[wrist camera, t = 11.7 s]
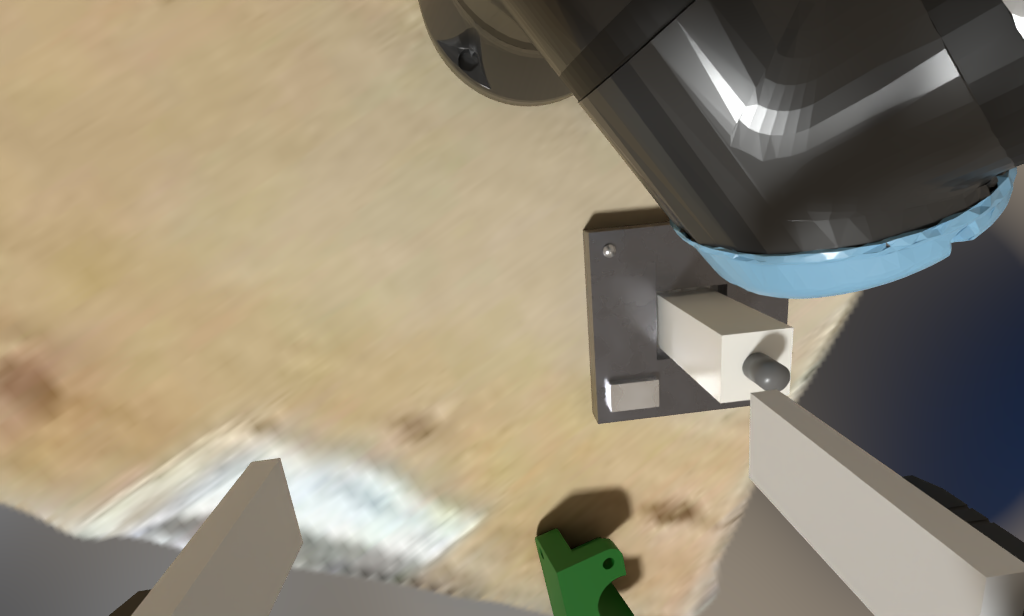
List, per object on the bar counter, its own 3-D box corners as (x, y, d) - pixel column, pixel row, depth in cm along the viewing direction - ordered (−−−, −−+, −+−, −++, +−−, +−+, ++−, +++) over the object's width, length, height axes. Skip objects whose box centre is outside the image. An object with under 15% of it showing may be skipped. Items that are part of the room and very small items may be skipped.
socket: (582, 230, 39) (590, 234, 36) (778, 210, 40) (799, 212, 37) (592, 412, 43) (600, 427, 41) (768, 391, 44) (787, 405, 41)
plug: (656, 294, 40) (739, 346, 28) (710, 288, 41) (815, 337, 28) (657, 345, 42) (736, 418, 29) (709, 339, 42) (810, 409, 29)
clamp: (590, 559, 53) (637, 650, 46) (539, 582, 51) (580, 680, 44) (593, 497, 45) (650, 594, 38) (533, 522, 44) (582, 628, 37)
